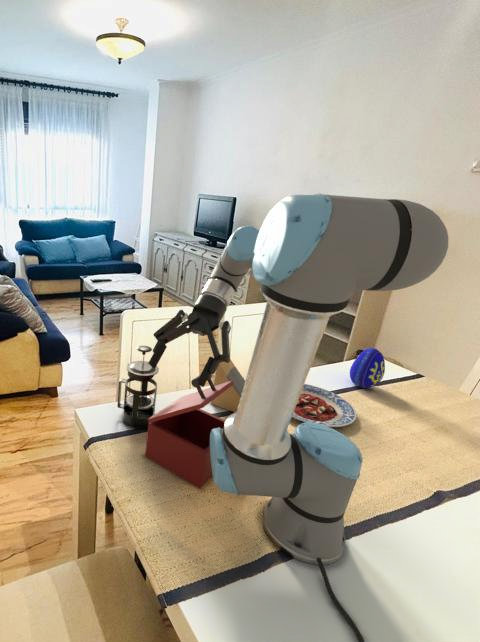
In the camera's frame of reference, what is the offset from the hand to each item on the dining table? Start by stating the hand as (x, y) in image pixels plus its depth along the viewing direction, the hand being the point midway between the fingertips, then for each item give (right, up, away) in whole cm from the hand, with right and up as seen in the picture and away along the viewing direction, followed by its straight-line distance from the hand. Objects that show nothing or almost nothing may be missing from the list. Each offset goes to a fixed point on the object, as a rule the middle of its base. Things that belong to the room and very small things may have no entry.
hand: (174, 374), depth 90 cm
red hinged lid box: (+4, -22, +8) cm, 24 cm away
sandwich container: (+25, -13, +32) cm, 43 cm away
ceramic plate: (+48, -14, +33) cm, 60 cm away
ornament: (+75, -9, +49) cm, 90 cm away
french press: (-8, -15, +22) cm, 28 cm away
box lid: (+4, -7, +3) cm, 9 cm away
